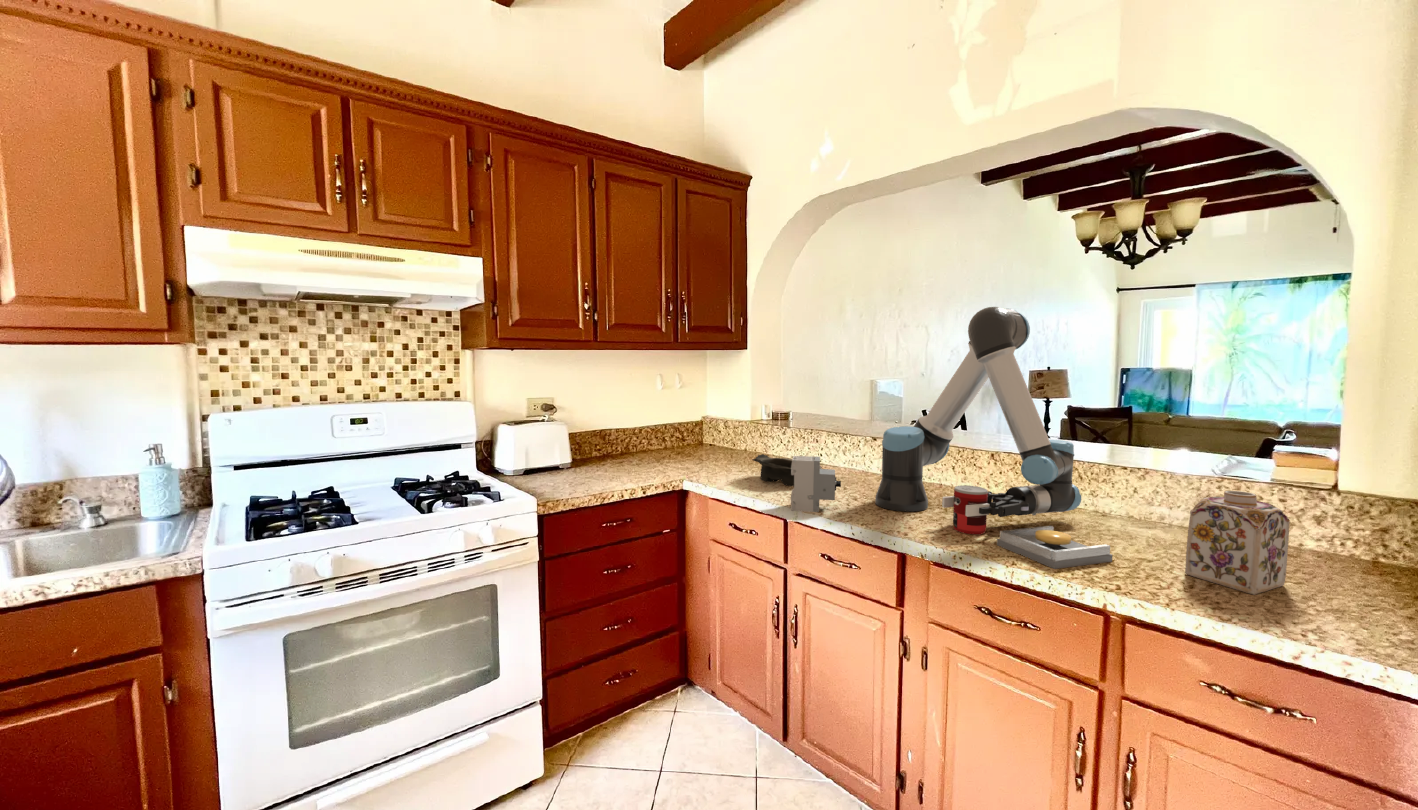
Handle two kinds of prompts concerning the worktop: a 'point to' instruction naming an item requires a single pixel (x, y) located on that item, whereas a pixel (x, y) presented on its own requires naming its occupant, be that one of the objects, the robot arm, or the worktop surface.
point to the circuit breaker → (811, 484)
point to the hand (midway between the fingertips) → (954, 506)
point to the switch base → (1059, 556)
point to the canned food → (961, 499)
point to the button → (1053, 538)
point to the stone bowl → (776, 469)
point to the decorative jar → (1238, 542)
